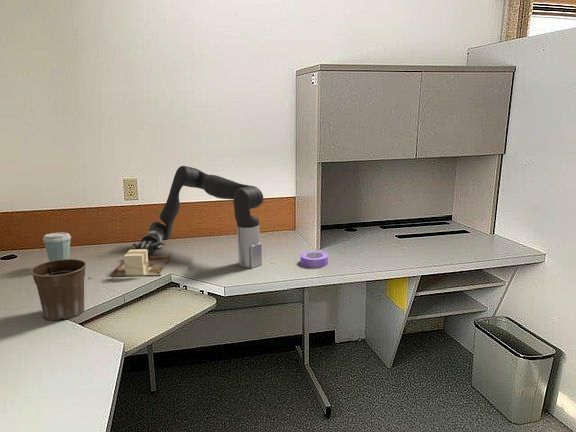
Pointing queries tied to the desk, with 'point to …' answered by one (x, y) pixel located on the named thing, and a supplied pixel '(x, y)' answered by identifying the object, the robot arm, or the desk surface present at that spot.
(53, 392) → the desk surface
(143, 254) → the block
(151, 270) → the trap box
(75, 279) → the plant pot
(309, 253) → the masking tape
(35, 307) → the desk surface
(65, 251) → the disposable coffee cup
